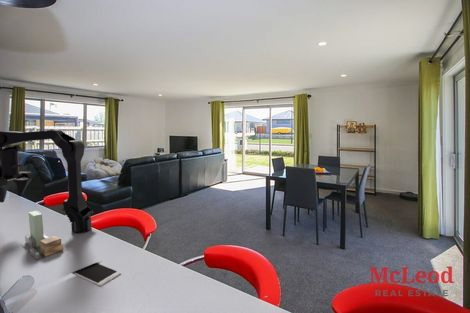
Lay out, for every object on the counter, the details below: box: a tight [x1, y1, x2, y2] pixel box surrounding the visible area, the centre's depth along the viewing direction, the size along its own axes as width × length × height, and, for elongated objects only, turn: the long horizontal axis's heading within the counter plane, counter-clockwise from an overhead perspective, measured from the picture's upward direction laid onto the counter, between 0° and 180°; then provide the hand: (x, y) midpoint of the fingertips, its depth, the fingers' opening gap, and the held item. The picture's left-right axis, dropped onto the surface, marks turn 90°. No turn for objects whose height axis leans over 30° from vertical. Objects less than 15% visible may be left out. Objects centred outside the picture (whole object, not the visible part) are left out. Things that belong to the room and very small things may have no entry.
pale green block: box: [28, 210, 45, 247], centre depth 92 cm, size 2×6×12 cm, turn 53°
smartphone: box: [71, 262, 122, 287], centre depth 77 cm, size 7×15×1 cm, turn 64°
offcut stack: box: [40, 235, 64, 256], centre depth 88 cm, size 6×5×4 cm
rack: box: [20, 232, 64, 261], centre depth 90 cm, size 8×18×4 cm, turn 53°
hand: (11, 199), depth 102 cm, fingers open, 9 cm apart
